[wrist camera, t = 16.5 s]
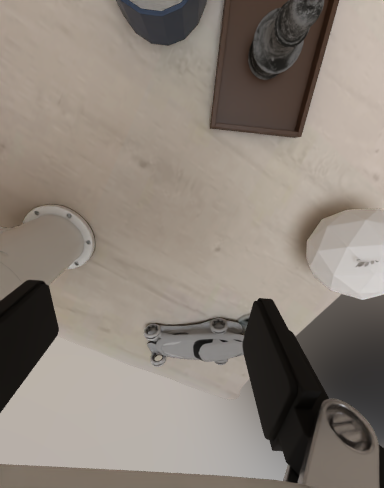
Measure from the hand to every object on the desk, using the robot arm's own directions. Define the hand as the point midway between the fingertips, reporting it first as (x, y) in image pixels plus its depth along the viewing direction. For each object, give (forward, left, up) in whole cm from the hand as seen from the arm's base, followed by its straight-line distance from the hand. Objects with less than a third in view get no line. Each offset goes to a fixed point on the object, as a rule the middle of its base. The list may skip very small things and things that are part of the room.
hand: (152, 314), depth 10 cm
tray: (+10, +20, -28) cm, 36 cm away
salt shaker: (+10, +20, -28) cm, 36 cm away
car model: (+6, -33, -28) cm, 44 cm away
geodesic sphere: (+28, -5, -28) cm, 40 cm away
